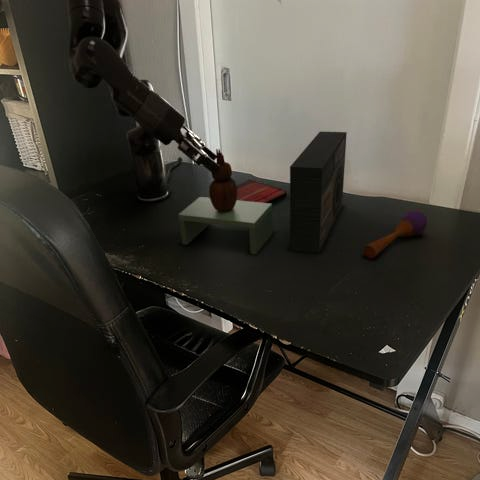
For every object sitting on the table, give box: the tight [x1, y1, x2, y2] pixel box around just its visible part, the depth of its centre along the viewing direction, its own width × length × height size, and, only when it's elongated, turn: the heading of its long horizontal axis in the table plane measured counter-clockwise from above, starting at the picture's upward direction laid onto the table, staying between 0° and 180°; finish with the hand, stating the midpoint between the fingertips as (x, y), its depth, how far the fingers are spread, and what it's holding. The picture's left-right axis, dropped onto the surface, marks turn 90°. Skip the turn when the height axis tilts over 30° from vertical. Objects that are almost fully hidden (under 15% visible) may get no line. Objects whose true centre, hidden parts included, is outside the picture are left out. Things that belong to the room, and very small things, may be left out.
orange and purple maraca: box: [363, 209, 428, 260], centre depth 113 cm, size 6×6×20 cm
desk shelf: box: [177, 196, 274, 255], centre depth 121 cm, size 12×20×8 cm, turn 67°
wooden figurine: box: [208, 148, 237, 212], centre depth 114 cm, size 7×6×15 cm
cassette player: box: [289, 131, 347, 254], centre depth 120 cm, size 29×7×20 cm, turn 160°
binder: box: [208, 179, 287, 205], centre depth 143 cm, size 16×2×21 cm
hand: (216, 165), depth 112 cm, fingers open, 8 cm apart
